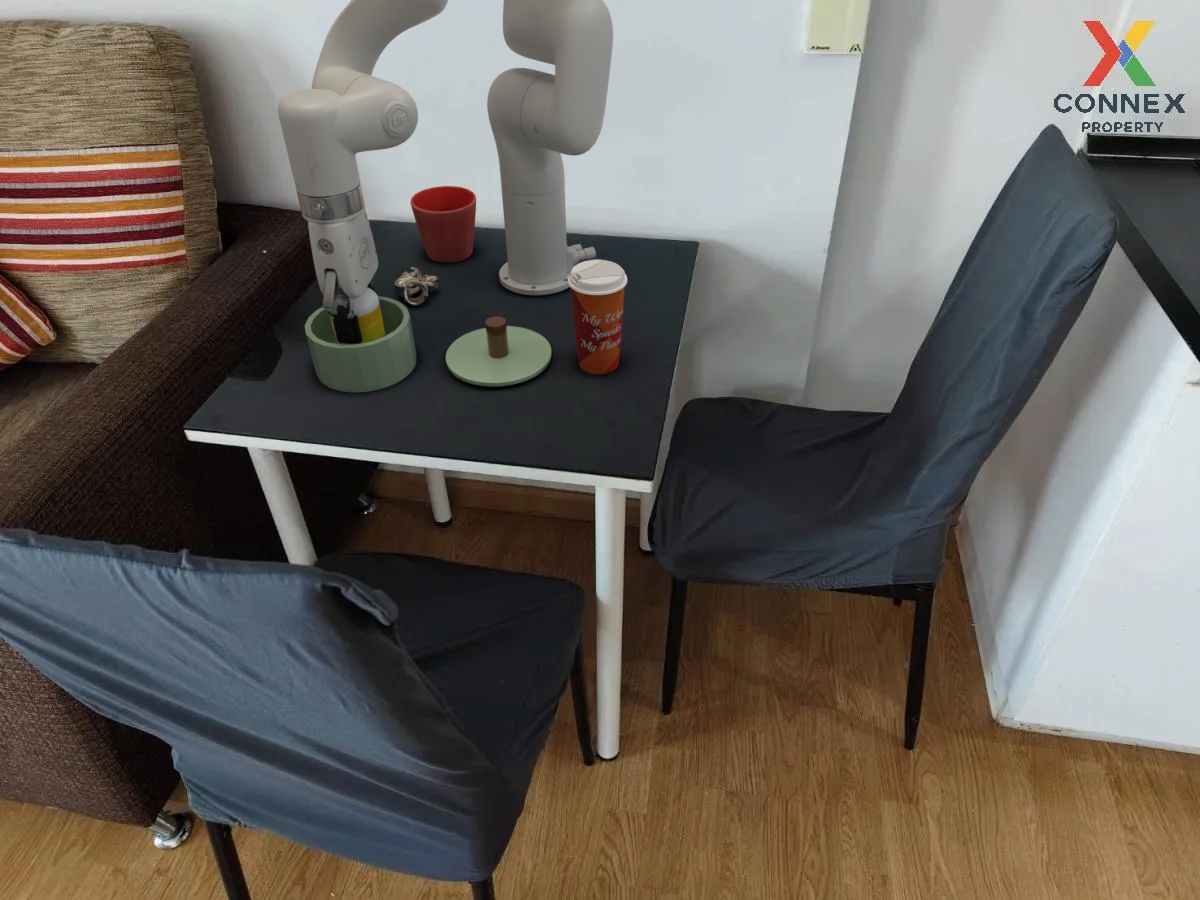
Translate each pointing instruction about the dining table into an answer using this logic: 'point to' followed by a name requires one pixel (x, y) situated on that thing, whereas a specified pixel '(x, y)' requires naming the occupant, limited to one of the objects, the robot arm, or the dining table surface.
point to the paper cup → (597, 313)
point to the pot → (363, 352)
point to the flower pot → (445, 222)
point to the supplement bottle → (365, 316)
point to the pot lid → (498, 354)
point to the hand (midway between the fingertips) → (358, 326)
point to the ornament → (415, 286)
